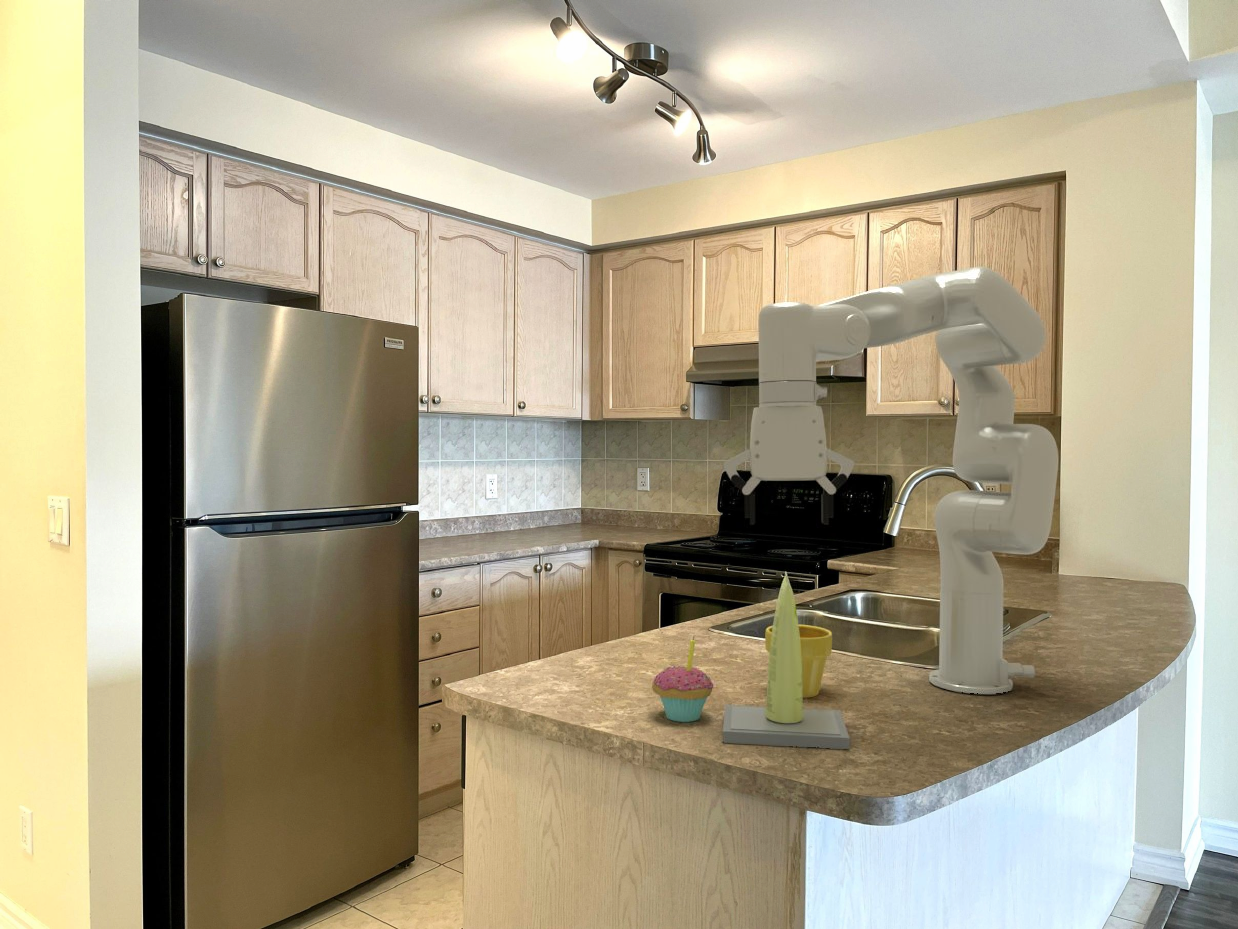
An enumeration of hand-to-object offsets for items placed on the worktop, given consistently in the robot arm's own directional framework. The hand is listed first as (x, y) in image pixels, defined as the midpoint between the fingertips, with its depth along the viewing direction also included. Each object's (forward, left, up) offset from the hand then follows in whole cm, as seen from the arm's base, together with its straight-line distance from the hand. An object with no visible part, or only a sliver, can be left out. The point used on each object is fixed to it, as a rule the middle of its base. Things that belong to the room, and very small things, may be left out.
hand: (788, 523), depth 118 cm
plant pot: (-3, -20, -28) cm, 35 cm away
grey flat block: (0, 0, -28) cm, 28 cm away
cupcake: (+14, -4, -28) cm, 32 cm away
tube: (0, 0, -27) cm, 27 cm away
